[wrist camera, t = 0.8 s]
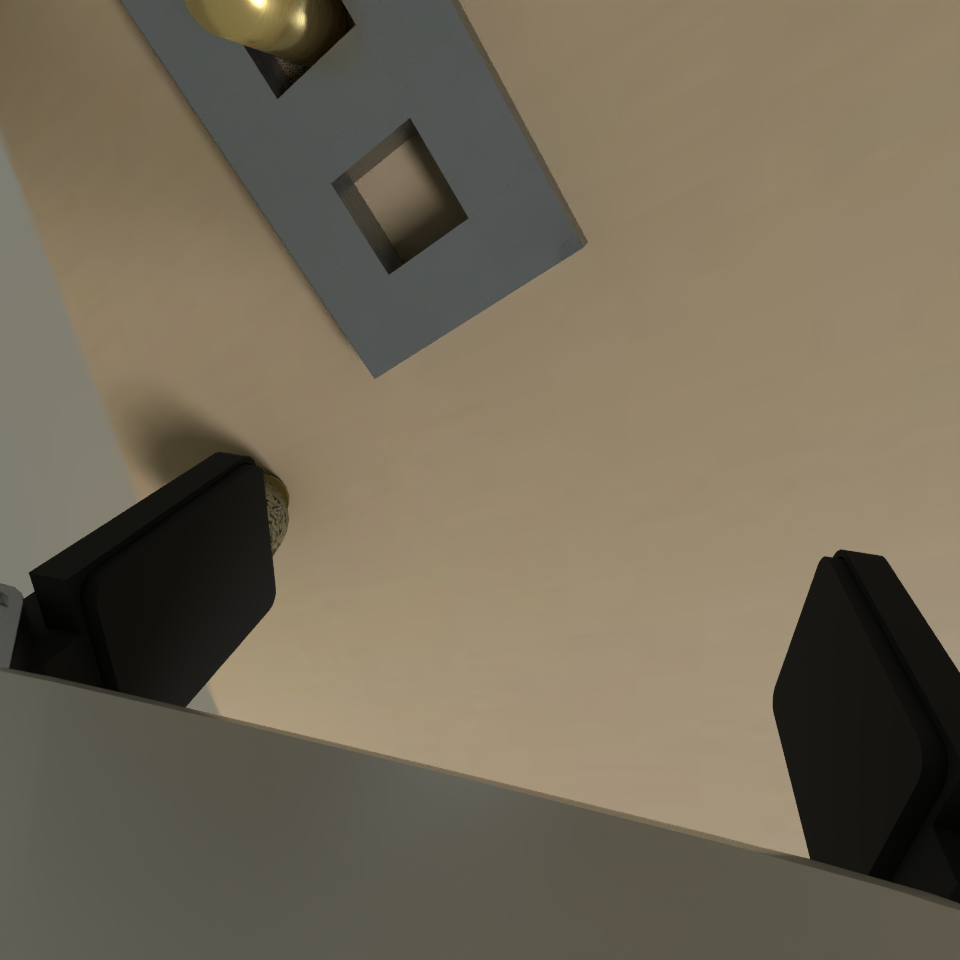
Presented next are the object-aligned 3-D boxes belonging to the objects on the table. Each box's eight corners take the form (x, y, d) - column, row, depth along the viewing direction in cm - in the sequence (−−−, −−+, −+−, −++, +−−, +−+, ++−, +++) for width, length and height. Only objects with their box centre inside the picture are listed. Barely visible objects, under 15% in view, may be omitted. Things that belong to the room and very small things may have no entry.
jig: (328, -243, 28) (296, -287, 25) (587, 242, 34) (583, 247, 32) (141, -16, 34) (98, -33, 31) (392, 365, 40) (374, 379, 37)
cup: (298, 440, 44) (233, 489, 37) (330, 532, 47) (274, 594, 39) (210, 451, 46) (132, 500, 39) (245, 538, 49) (178, 599, 42)
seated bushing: (315, -46, 31) (221, -111, 24) (361, 33, 32) (284, -8, 25) (261, 11, 33) (158, -35, 26) (306, 84, 34) (219, 59, 27)
